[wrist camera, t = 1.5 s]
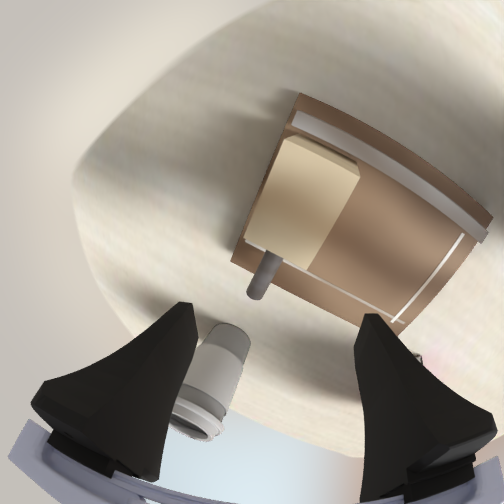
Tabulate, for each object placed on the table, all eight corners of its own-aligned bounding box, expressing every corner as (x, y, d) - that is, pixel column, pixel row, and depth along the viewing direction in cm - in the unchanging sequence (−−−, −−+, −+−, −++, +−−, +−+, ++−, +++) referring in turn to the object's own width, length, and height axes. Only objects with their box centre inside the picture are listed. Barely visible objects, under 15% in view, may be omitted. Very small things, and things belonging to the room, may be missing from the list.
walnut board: (303, 94, 16) (296, 90, 13) (485, 209, 14) (500, 223, 12) (237, 252, 23) (224, 268, 21) (389, 331, 22) (391, 352, 20)
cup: (213, 353, 32) (167, 430, 22) (195, 314, 29) (135, 395, 20) (266, 360, 29) (228, 450, 20) (254, 318, 27) (201, 419, 17)
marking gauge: (299, 132, 16) (284, 139, 12) (356, 161, 15) (360, 177, 12) (244, 257, 22) (221, 290, 18) (289, 281, 21) (275, 319, 18)
